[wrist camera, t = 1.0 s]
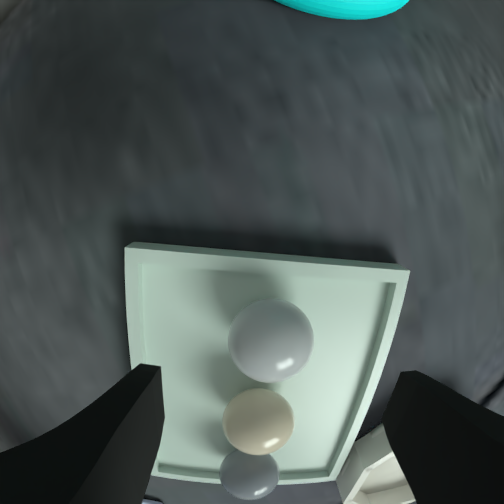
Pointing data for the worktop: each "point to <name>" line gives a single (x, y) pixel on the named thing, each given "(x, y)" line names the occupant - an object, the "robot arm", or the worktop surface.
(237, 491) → the pebble slate
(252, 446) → the beige round ball
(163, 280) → the parts tray
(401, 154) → the worktop surface
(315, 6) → the donuts
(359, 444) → the stoneware bowl
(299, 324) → the pebble grey
